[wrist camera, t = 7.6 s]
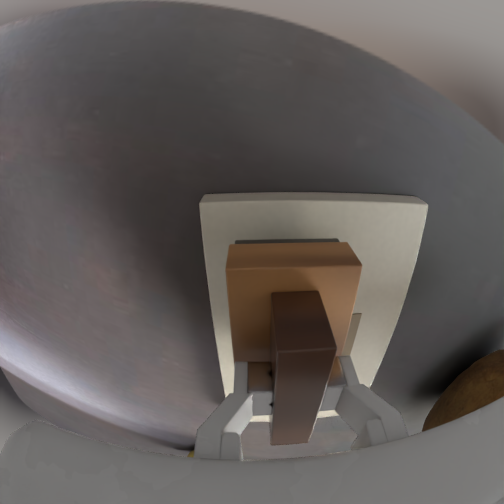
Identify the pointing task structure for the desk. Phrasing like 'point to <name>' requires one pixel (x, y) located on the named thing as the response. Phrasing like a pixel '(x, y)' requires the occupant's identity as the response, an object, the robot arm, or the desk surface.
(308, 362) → the brush
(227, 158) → the desk surface
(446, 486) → the robot arm
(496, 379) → the bowl
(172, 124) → the desk surface
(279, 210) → the tile
